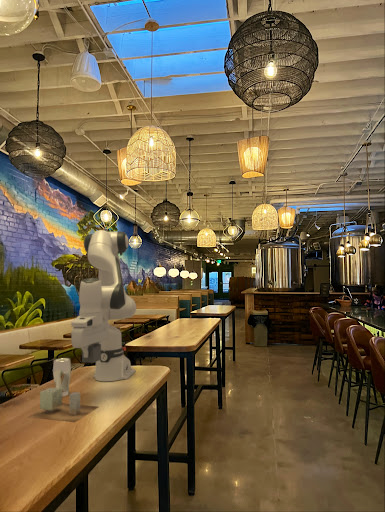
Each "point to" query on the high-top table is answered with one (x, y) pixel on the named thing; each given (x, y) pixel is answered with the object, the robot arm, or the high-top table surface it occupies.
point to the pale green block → (51, 399)
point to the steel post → (74, 403)
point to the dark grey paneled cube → (93, 353)
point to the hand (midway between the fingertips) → (91, 355)
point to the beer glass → (62, 374)
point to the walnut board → (64, 413)
